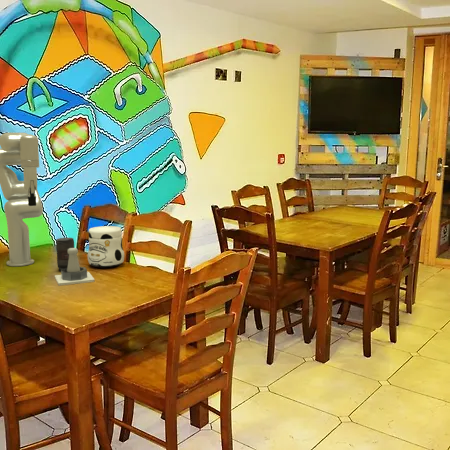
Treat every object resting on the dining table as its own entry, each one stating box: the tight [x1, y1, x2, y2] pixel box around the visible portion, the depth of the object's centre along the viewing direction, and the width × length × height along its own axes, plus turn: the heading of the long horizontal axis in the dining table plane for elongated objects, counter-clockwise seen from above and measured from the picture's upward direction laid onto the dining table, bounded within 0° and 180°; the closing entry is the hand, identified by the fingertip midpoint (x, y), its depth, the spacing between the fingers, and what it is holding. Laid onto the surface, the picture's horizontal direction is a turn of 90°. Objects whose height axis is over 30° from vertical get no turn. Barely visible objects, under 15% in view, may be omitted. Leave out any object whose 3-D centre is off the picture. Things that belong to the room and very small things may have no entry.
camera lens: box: [55, 237, 75, 273], centre depth 256 cm, size 8×8×15 cm
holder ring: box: [60, 266, 88, 281], centre depth 241 cm, size 10×10×4 cm
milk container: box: [87, 225, 125, 269], centre depth 265 cm, size 17×17×18 cm
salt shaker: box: [67, 247, 81, 272], centre depth 240 cm, size 6×6×13 cm
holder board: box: [54, 271, 95, 286], centre depth 241 cm, size 14×15×1 cm
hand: (32, 205), depth 243 cm, fingers closed
